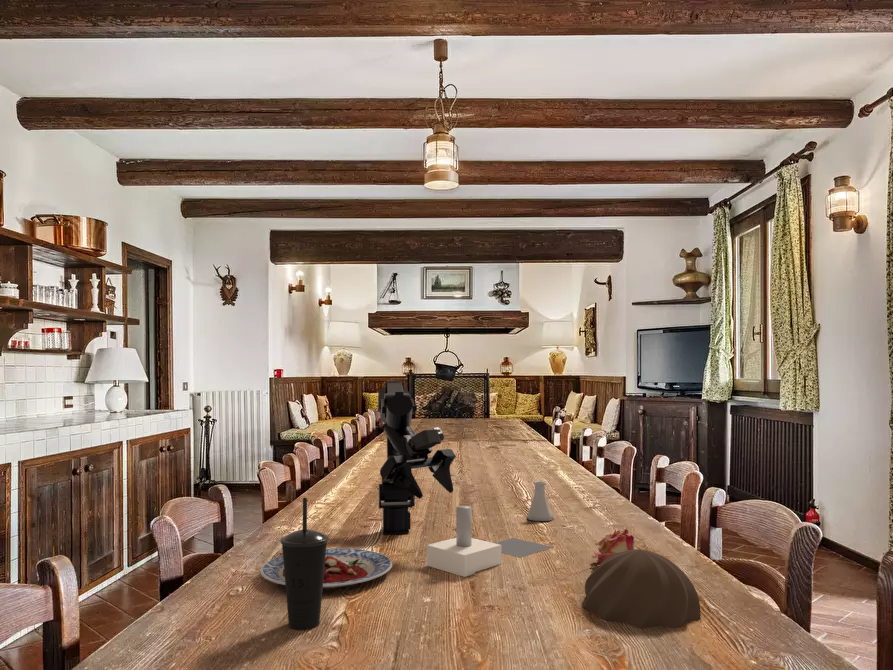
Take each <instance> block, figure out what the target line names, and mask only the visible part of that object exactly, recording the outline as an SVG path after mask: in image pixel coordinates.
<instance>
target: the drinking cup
mask: <svg viewBox="0 0 893 670" xmlns="http://www.w3.org/2000/svg"><path fill="white" fill-rule="evenodd" d="M279 542H280V544H281V545H282V547H281V548H282V556H283V561H284V573H285V585H284V586H285V595H286V608H287V617H288V618H287V619H288V627H289V628H290V629H292V630H297V631H298V630H299V631H303V630H311V629H313V628H317V627H318V626H319V625H320V622H321V621H320V620H321V611H322V598H323V591H324V589H323V579H324V568H325V557H326V549H327V543H328V542H329V536H328V534H325V533H322V532H320V531H318V530H315V529H308V497H302V529H298V530H295V531H291V532H290V533H288V534H286V535H284V536H282V537H281V538H280V540H279Z"/></svg>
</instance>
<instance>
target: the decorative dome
mask: <svg viewBox="0 0 893 670" xmlns="http://www.w3.org/2000/svg"><path fill="white" fill-rule="evenodd" d="M584 593H585V597H586V598H585V601H584V603H583V609H585V610H588V611H590V612H593V613H595V614H597V616H598V617H599V618H600V620H602V621H607V622H614V623H615V622H616V623H623V624H625V625H628V626H631V627H634V628H638V629H646V628H654V627H663V628H664V627H665V628H681V627H682V626H683V625H684V624H685V623H687V622H693V621H699V620H701V619H702V618H701V617H702V615H701V613H702V612H701V604H700V598H699V595H698V592H697V590H696V587H695V585H694V584H693V582H692V581H691V580H690V578H689V577H688V576H687V574H686V573H685V572H684V571H683V570H682V569H681V568H680V567H679V566H677V565H676V564H675V563H674V562H673V561H671V560H670V559H668V558H667V557H665V556H663V555H661V554H658V553H656V552H654V551H651V550H647V549H636V548H635V549H633V550H627V551H623V552H619V553H616V554H614V555H612V556H610V557H608V558H607V559H605V560H604V561H603V562H602V563H601V564H600V565H598V567H597V568H596V569H595V570H593V572H591V573H590V575H589V576H588V578H587V579H586V581H585V582H584Z"/></svg>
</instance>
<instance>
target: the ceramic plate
mask: <svg viewBox="0 0 893 670" xmlns="http://www.w3.org/2000/svg"><path fill="white" fill-rule="evenodd" d="M392 566H393V562H392V560H391V559H390V557H388V556H386V555H385V554H382V553H379V552H376V551H371V550H366V549H360V548H344V547H340V548H339V547H335V548H334V547H331V548H330V547H329V548H326V557H325V568H324V579H323V590H324V589H337V588H344V587H345V588H346V587H350V586H353V585H356V584H361V583H364V582H365V583H366V582H368V581H371V580H375V579H377V578H380V577H382V576H384V575H385V574H386V573H388V572H390V570H391V569H392ZM259 571H260V575H261V576H262V577H263V578H264V579H266V580H267V581H268V582H271V583H274V584H278V585H283V586H286V585H285V573H284V561H283V555H280V556H277V557H273V558H272V559H270V560H268V561H267V562H265V563H264V564H263V565H262V566H261V567H260V570H259Z"/></svg>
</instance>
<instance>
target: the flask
mask: <svg viewBox="0 0 893 670" xmlns="http://www.w3.org/2000/svg"><path fill="white" fill-rule="evenodd" d="M533 484H534V492H533V493H534V494H533V497H532V501H531V504H530V507H529V510H528V513H527V515H526V518H527V519H528V520H529V521H535V522H550V521H552V520H554V517H553V513H552V510H551V508H550V504H549V502H548V498H547V495H546V494H547V493H546V490H545V489H546V487H545V486H546V484H547V483H546V482H545V481H534V482H533Z"/></svg>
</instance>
